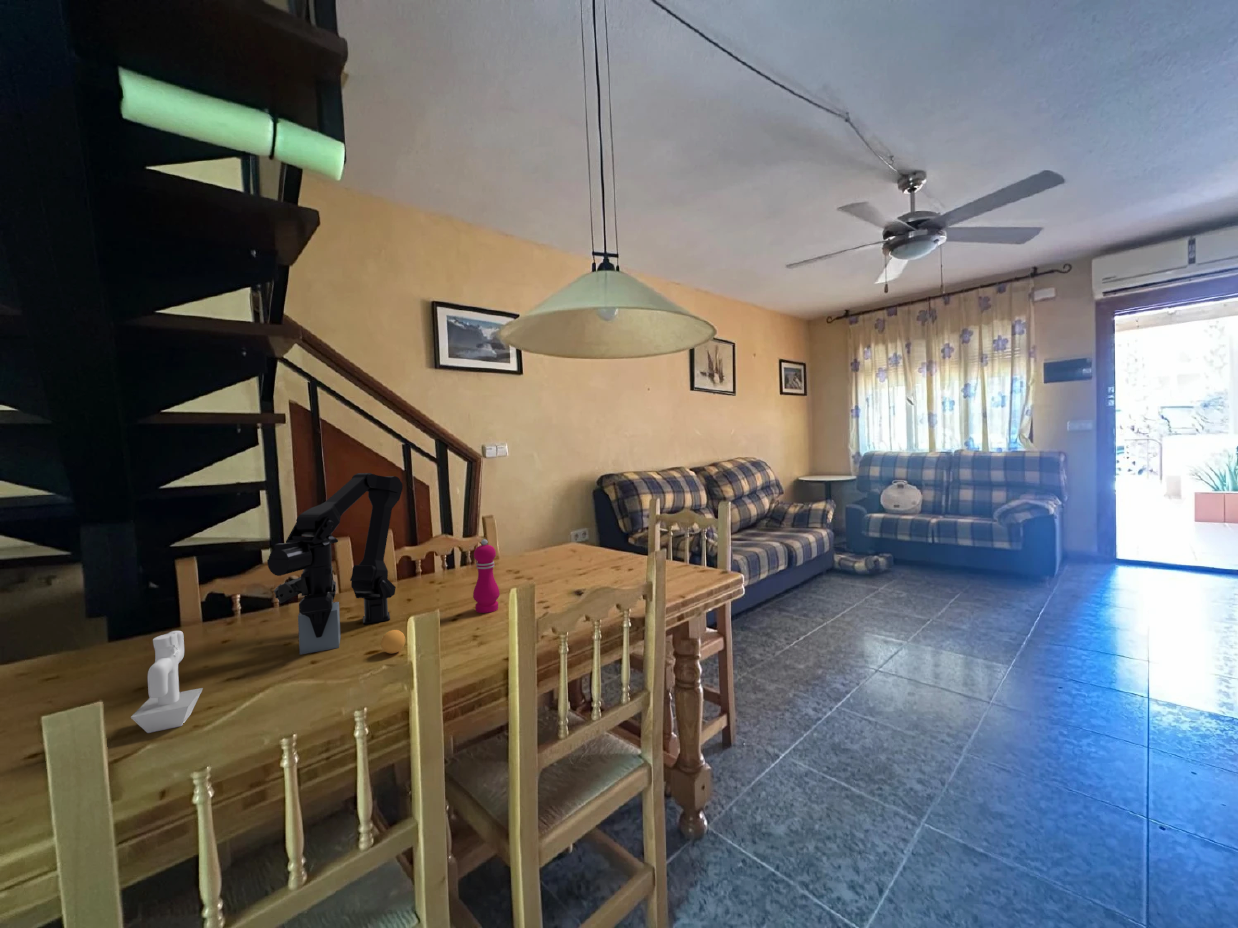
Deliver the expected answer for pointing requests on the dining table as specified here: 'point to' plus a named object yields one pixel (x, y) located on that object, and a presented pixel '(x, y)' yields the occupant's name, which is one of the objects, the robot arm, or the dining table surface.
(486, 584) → the pepper mill
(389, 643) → the ball
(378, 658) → the dining table surface
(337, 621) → the slate grey cube
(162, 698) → the figurine
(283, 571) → the robot arm
